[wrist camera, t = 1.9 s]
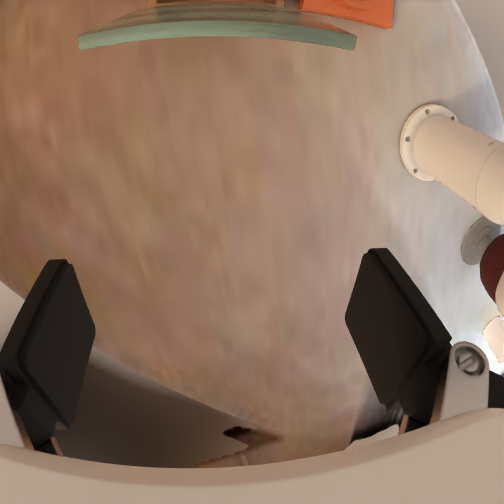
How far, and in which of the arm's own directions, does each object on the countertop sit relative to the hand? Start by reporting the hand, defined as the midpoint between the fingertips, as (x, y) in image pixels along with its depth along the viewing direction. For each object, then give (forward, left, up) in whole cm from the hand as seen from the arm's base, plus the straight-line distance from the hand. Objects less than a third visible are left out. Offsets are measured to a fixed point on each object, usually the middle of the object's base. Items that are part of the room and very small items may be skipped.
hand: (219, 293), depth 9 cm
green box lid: (0, -11, -15) cm, 18 cm away
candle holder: (-85, +52, -32) cm, 105 cm away
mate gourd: (-55, +20, -32) cm, 67 cm away
